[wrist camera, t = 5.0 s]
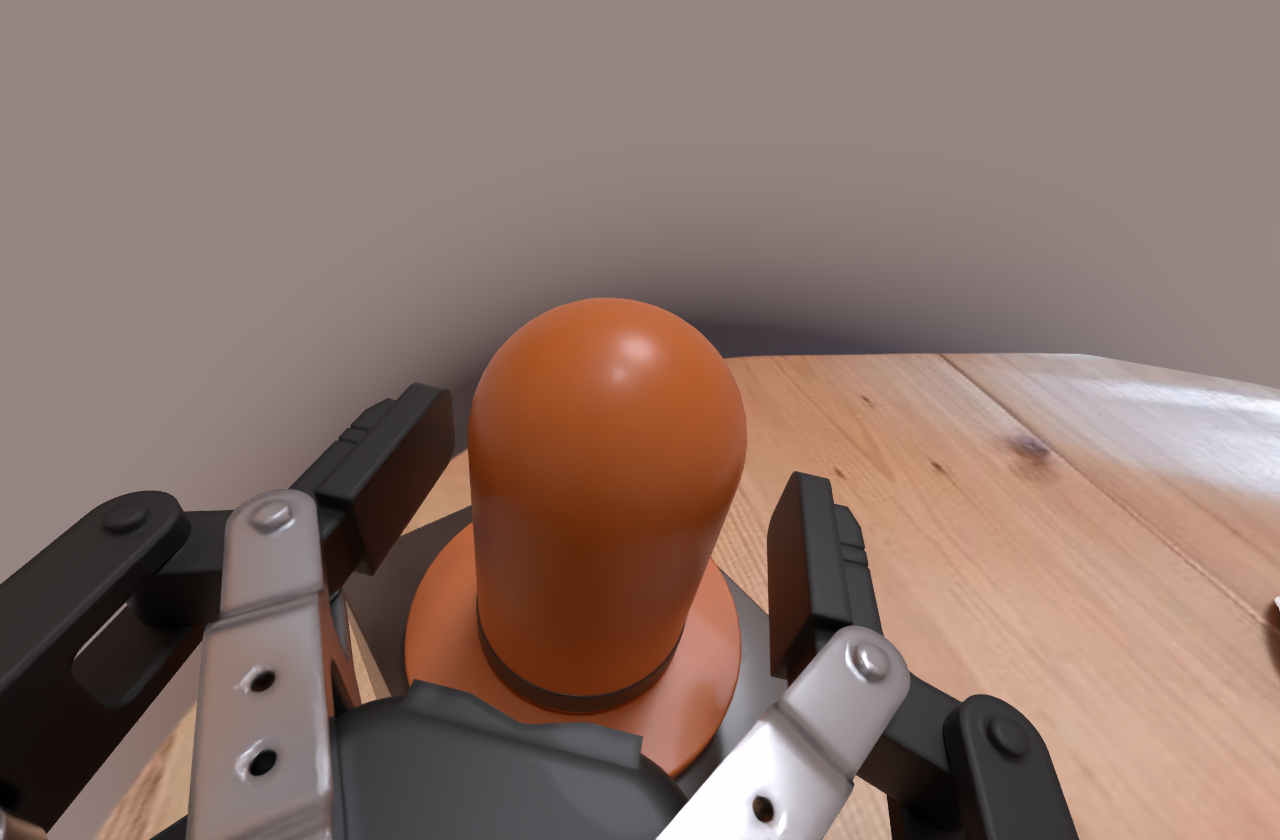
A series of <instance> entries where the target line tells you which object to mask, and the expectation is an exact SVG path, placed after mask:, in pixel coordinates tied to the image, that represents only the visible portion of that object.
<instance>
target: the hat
mask: <svg viewBox="0 0 1280 840" xmlns="http://www.w3.org/2000/svg"><path fill="white" fill-rule="evenodd" d="M746 448H747V427H746V416H745V411H744V407H743V403H742V399H741V394H740V391H739V389H738V387H737V384H736V382H735V380H734V378H733V375H732V373H731V371H730V369H729V368H728V366H727V364H726V363H725V361H724V360H723V358H722V357H721V355H720V354H719V352H718V351H717V350H716V349H715V348H714V346H713V345H712V344H711V343H710V342H709V341H708V340H707V339H706V338H705V337H704V336H703V335H702V334H701V333H700V332H699V331H698V330H697V329H695V328H694V327H693V326H691V325H690V324H688V323H687V322H685V321H684V320H682V319H681V318H679V317H678V316H676V315H674V314H672V313H670V312H668V311H666V310H664V309H662V308H659V307H656V306H654V305H650V304H647V303H643V302H639V301H635V300H629V299H621V298H592V299H585V300H580V301H576V302H572V303H569V304H565V305H561V306H559V307H556V308H553V309H551V310H550V311H547V312H545V313H544V314H542V315H540V316H538V317H536V318H534V319H532V320H531V321H530V322H528V323H527V324H526V325H524V326H523V327H522V328H520V329H519V330H518V331H516V332H515V333H514V334H513V335H512V336H511V337H510V338H509V339H508V340H507V341H506V342H505V343H504V344H503V346H502V347H501V348H500V349H499V350H498V351H497V353H496V354H495V355H494V357H493V358H492V360H491V362H490V363H489V365H488V366H487V368H486V369H485V371H484V373H483V375H482V377H481V380H480V382H479V385H478V387H477V390H476V392H475V395H474V398H473V402H472V407H471V412H470V417H469V422H468V456H469V471H470V487H471V502H472V518H473V522H472V523H471V524H469V525H468V526H467V527H465V528H464V529H463V530H462V531H461V532H459V533H458V534H457V535H456V536H455V537H454V538H453V539H452V540H451V541H450V542H449V543H448V544H447V545H446V546H445V547H444V548H443V549H442V550H441V551H440V553H439V554H438V556H437V557H436V558H435V560H434V561H433V562H432V564H431V565H430V567H429V568H428V570H427V572H426V573H425V575H424V577H423V579H422V581H421V583H420V584H419V586H418V589H417V591H416V594H415V597H414V599H413V602H412V604H411V608H410V612H409V616H408V621H407V625H406V635H405V646H404V650H405V665H406V674H407V678H408V683H409V687H410V686H411V684H412V682H413V680H414V679H418V680H422V681H426V682H430V683H434V684H438V685H442V686H446V687H450V688H454V689H457V690H461V691H465V692H469V693H471V694H473V695H475V696H476V697H478V698H480V699H481V700H483V701H485V702H486V703H488V704H490V705H491V706H493V707H495V708H496V709H498V710H500V711H501V712H503V713H505V714H506V715H508V716H510V717H511V718H513V719H515V720H516V721H518V722H520V723H524V724H543V723H573V722H588V723H592V724H596V725H600V726H604V727H608V728H612V729H616V730H620V731H624V732H628V733H632V734H636V735H640V736H643V741H642V748H641V754H643V755H645V756H646V757H648V758H649V759H651V760H652V761H653V762H655V763H656V764H657V765H658V766H660V767H661V768H662V769H663V770H664V771H665V772H666V773H667V774H668V775H669V776H670V777H671V778H672V779H674V778H676V777H677V776H678V775H679V774H680V773H682V772H683V771H684V770H685V769H686V768H687V767H689V766H690V765H691V764H692V763H693V762H694V760H695V759H696V758H697V757H698V756H699V755H700V753H701V752H702V751H703V750H704V749H705V748H706V746H707V745H708V743H709V742H710V740H711V739H712V737H713V736H714V734H715V732H716V731H717V729H718V728H719V726H720V724H721V723H722V721H723V719H724V717H725V715H726V713H727V711H728V708H729V706H730V704H731V702H732V699H733V696H734V693H735V689H736V685H737V682H738V678H739V671H740V663H741V632H740V625H739V618H738V614H737V611H736V607H735V603H734V600H733V597H732V594H731V592H730V590H729V587H728V585H727V583H726V580H725V579H724V577H723V575H722V573H721V572H720V570H719V568H718V566H717V565H716V563H715V562H714V561H713V559H712V558H711V554H712V552H713V549H714V546H715V544H716V541H717V539H718V536H719V534H720V531H721V529H722V526H723V523H724V521H725V518H726V516H727V513H728V511H729V508H730V505H731V503H732V500H733V498H734V495H735V493H736V490H737V488H738V485H739V482H740V479H741V476H742V472H743V469H744V463H745V458H746Z"/></svg>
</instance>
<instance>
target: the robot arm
mask: <svg viewBox="0 0 1280 840" xmlns="http://www.w3.org/2000/svg"><path fill="white" fill-rule="evenodd" d="M454 446H455V432H454V421H453V410H452V397H451V393H450V391H449V390H447V389H444V388H439V387H435V386H431V385H426V384H422V383H418V382H415V383H413V384H411V385H410V386H409V387H408V388H407V389H406V391H405V392H404V393H403V394H402V395H401V396H400V397H399V398H398V399H397V400H392V399H388V398H387V399H385V400H383V401H382V402H379V403H377V404H376V405H374V406H372V407H370V408H368V409H366V410H365V411H364V412H363V413H362V414H361V415H360V416H359V417H358V418H357V419H356V420H355V421H354V422H353V423H352V424H351V427H350V428H347V429H346V430H345V431H344V432H343V433H342V435H341V436H339V440H338V441H335V442H334V443H333V444H332V445H331V446H330V447H329V448H328V449H327V450H326V451H325V452H324V453H323V454H322V455H321V456H320V457H319V458H318V459H317V460H316V461H315V462H314V463H313V464H312V465H311V466H310V467H309V468H308V469H307V470H306V471H305V472H304V473H303V474H302V475H301V476H300V478H299V479H298V480H297V481H296V482H295V483H294V484H293V485H292V486H291V487H290V488H288V489H279V490H273V491H268V492H265V493H262V494H259V495H256V496H254V497H252V498H250V499H249V500H247V501H245V502H244V503H243V504H241V505H240V506H238V507H237V508H236V509H235V510H223V511H222V510H221V511H191V512H190V511H188V512H184V511H183V510H182V508H181V506H180V504H179V503H178V501H177V499H176V498H175V497H173V496H172V495H170V494H168V493H165V492H161V491H139V492H134V493H129V494H125V495H122V496H119V497H116V498H114V499H111V500H109V501H107V502H105V503H103V504H101V505H99V506H98V507H96V508H94V509H93V510H92V511H90V512H89V513H88V514H86V515H85V516H84V517H83V518H81V519H80V520H79V521H78V522H77V523H75V524H74V525H73V526H72V527H70V528H69V529H68V530H67V531H66V532H64V533H63V534H62V535H61V536H59V537H58V538H57V539H56V540H54V541H53V542H52V543H51V544H50V545H49V546H47V547H46V548H45V549H43V550H42V551H41V552H40V553H38V554H37V555H36V556H35V557H34V558H32V559H31V560H30V561H29V562H28V563H26V564H25V565H24V566H23V567H21V568H20V569H19V570H18V571H16V572H15V573H14V574H13V575H11V576H10V577H9V578H8V579H7V580H5V581H4V582H3V583H2V584H0V840H48V838H47V835H46V834H47V833H48V832H49V830H50V829H51V828H52V827H53V825H54V824H55V823H56V822H57V820H58V819H59V818H60V817H61V815H62V814H63V813H64V812H65V810H66V809H67V808H68V807H69V805H70V804H71V803H72V802H73V800H74V799H75V798H76V797H77V795H78V794H79V793H80V791H82V789H83V788H84V787H85V785H86V784H87V783H88V782H89V781H90V779H91V778H92V777H93V775H94V774H95V773H96V772H97V771H98V769H99V768H100V767H101V766H102V764H103V763H104V762H105V761H106V759H107V758H108V757H109V756H110V754H111V753H112V752H113V751H114V749H115V748H116V747H117V746H118V744H119V743H120V742H121V741H122V739H123V738H124V737H125V735H126V734H127V733H128V732H129V731H130V729H131V728H132V727H133V726H134V724H135V723H136V722H137V721H138V720H139V718H140V717H141V716H142V715H143V713H144V712H145V711H146V710H147V708H148V707H149V706H150V704H151V703H152V702H153V701H154V700H155V698H156V697H157V696H158V695H159V693H160V692H161V691H162V690H163V688H164V687H165V686H166V685H167V683H168V682H169V681H170V680H171V678H172V677H173V676H174V675H175V673H176V672H177V671H178V670H179V668H180V667H181V666H182V665H183V663H184V662H185V661H186V660H187V658H188V657H189V656H190V655H191V653H192V652H193V651H194V650H195V649H196V647H197V646H198V645H199V644H200V642H201V641H202V640H203V641H202V652H201V664H200V676H199V688H198V700H197V711H196V723H195V735H194V747H193V759H192V770H191V782H190V794H189V806H188V814H187V815H186V816H184V817H183V818H181V819H180V820H178V821H177V822H175V823H174V824H172V825H171V826H169V827H168V828H166V829H165V830H163V831H162V832H160V833H159V834H157V835H156V836H154V837H153V838H151V839H149V840H822V839H823V838H824V836H825V834H826V833H827V831H828V830H829V828H830V826H831V825H832V823H833V822H834V820H835V819H836V817H837V815H838V814H839V812H840V811H841V809H842V807H843V806H844V804H845V803H846V801H847V799H848V798H849V796H850V794H851V792H852V790H853V787H854V783H853V782H852V781H853V779H854V777H855V775H857V776H859V777H860V778H862V779H863V780H865V781H866V782H868V783H870V784H871V785H873V786H874V787H876V788H878V789H879V790H881V791H882V792H884V793H885V794H887V801H888V809H889V818H890V826H891V834H892V840H1079V838H1078V835H1077V832H1076V829H1075V826H1074V823H1073V820H1072V818H1071V815H1070V812H1069V809H1068V806H1067V803H1066V800H1065V797H1064V795H1063V792H1062V789H1061V786H1060V783H1059V780H1058V777H1057V774H1056V772H1055V769H1054V766H1053V763H1052V760H1051V757H1050V754H1049V752H1048V749H1047V747H1046V744H1045V743H1044V741H1043V739H1042V737H1041V736H1040V734H1039V733H1038V731H1037V730H1036V728H1035V727H1034V726H1033V725H1032V724H1031V722H1030V721H1029V720H1028V719H1027V718H1026V717H1025V716H1024V715H1023V714H1022V713H1020V712H1019V711H1018V710H1017V709H1015V708H1014V707H1013V706H1011V705H1010V704H1008V703H1006V702H1005V701H1003V700H1001V699H999V698H996V697H993V696H989V695H983V694H978V695H973V696H971V697H968V698H967V699H966V700H965V701H963V702H960V701H958V700H957V699H955V698H953V697H951V696H949V695H948V694H946V693H944V692H942V691H940V690H939V689H937V688H935V687H933V686H931V685H929V684H928V683H926V682H924V681H922V680H921V679H919V678H918V677H916V676H915V675H913V674H912V673H911V672H910V671H909V670H908V667H907V664H906V662H905V660H904V659H903V657H902V655H901V654H900V652H899V651H898V650H897V649H896V647H895V646H894V645H893V644H892V643H891V642H890V641H889V640H887V639H886V638H885V637H884V635H883V631H882V627H881V622H880V617H879V613H878V608H877V603H876V598H875V593H874V589H873V584H872V579H871V574H870V569H869V568H868V560H867V555H866V552H865V551H864V548H865V545H864V541H863V536H862V531H861V527H860V525H859V524H858V522H857V521H856V519H855V518H854V516H853V514H852V513H851V511H850V510H849V508H848V507H846V506H842V505H837V504H834V501H833V495H832V489H831V483H830V481H829V479H827V478H823V477H819V476H814V475H810V474H806V473H801V472H797V471H795V472H793V473H792V475H791V477H790V479H789V481H788V483H787V485H786V487H785V489H784V491H783V493H782V495H781V498H780V500H779V502H778V504H777V506H776V508H775V510H774V512H773V515H772V517H771V520H770V524H769V528H768V534H767V562H768V601H769V640H770V676H772V677H776V678H780V679H784V680H787V683H788V689H787V690H786V691H785V693H784V694H783V695H782V696H781V697H780V698H779V700H778V701H777V702H776V703H774V704H772V706H771V707H770V708H769V709H768V710H767V711H766V712H765V713H764V714H763V715H762V717H761V718H760V719H759V720H758V721H757V722H756V724H755V725H754V726H753V727H752V728H751V729H750V731H749V732H748V733H747V734H746V735H745V736H744V738H743V739H742V740H741V741H740V742H739V743H738V744H737V746H736V747H735V748H734V749H733V750H732V751H731V753H730V754H729V755H728V756H727V757H726V758H725V760H724V761H723V762H722V763H721V764H720V765H719V767H718V768H717V769H716V770H715V771H714V772H713V773H712V775H711V776H710V777H709V778H708V779H707V780H706V782H705V783H704V784H703V785H702V786H701V787H700V789H699V790H698V791H697V792H696V793H695V794H694V796H693V797H692V798H691V799H690V800H688V799H687V797H686V795H685V794H684V793H683V791H682V790H681V789H680V787H679V786H678V785H677V784H676V782H675V781H674V780H673V779H672V778H671V777H670V776H669V775H668V774H667V773H666V772H665V771H664V770H663V769H662V768H661V767H660V766H658V765H657V764H656V763H655V762H653V761H652V760H651V759H649V758H648V757H646V756H645V755H643V754H641V748H642V741H643V736H640V735H636V734H632V733H628V732H624V731H620V730H616V729H612V728H608V727H604V726H600V725H596V724H592V723H588V722H573V723H543V724H524V723H520V722H518V721H516V720H515V719H513V718H511V717H510V716H508V715H506V714H505V713H503V712H501V711H500V710H498V709H496V708H495V707H493V706H491V705H490V704H488V703H486V702H485V701H483V700H481V699H480V698H478V697H476V696H475V695H473V694H471V693H469V692H465V691H461V690H457V689H454V688H450V687H446V686H442V685H438V684H434V683H430V682H426V681H422V680H418V679H414V680H413V682H412V684H411V686H410V688H409V690H408V692H407V694H406V695H398V696H392V697H386V698H381V699H378V700H374V701H371V702H367V703H365V704H361V699H360V694H359V689H358V685H357V681H356V676H355V671H354V664H353V656H352V648H351V639H350V631H349V623H348V614H347V606H346V597H345V590H344V587H343V585H344V584H345V582H346V581H347V580H348V578H349V577H350V575H351V574H352V573H353V572H357V573H361V574H365V575H369V576H373V575H374V574H375V572H376V571H377V569H378V568H379V566H380V565H381V563H382V562H383V560H384V559H385V557H386V556H387V554H388V553H389V551H390V550H391V548H392V547H393V546H394V544H395V543H396V541H397V540H398V538H399V537H400V535H401V534H402V532H403V531H404V529H405V528H406V526H407V525H408V523H409V522H410V520H411V519H412V517H413V516H414V514H415V513H416V511H417V510H418V508H419V507H420V506H421V504H422V503H423V501H424V500H425V498H426V497H427V495H428V494H429V492H430V491H431V489H432V488H433V486H434V485H435V483H436V482H437V480H438V479H439V477H440V476H441V474H442V473H443V471H444V470H445V468H446V467H447V465H448V464H449V462H450V460H451V457H452V455H453V451H454ZM125 602H126V604H127V606H126V607H125V608H124V609H123V610H122V611H121V613H119V614H118V616H116V618H115V619H114V620H113V621H112V622H111V623H110V624H109V625H108V626H107V627H106V628H105V629H104V630H103V631H102V632H101V633H100V634H99V635H98V636H97V637H96V638H95V639H94V640H93V641H92V642H91V643H90V644H89V645H88V646H87V647H86V648H85V649H84V650H83V651H82V652H81V653H80V654H79V655H78V657H76V659H75V660H74V658H75V656H76V655H77V653H78V651H79V649H81V647H82V646H83V645H84V644H85V643H86V642H87V641H88V640H89V639H90V638H91V637H92V636H93V635H94V634H95V633H96V632H97V631H98V630H99V629H100V628H101V627H102V626H103V625H104V624H105V623H106V621H108V619H110V618H111V616H113V614H114V613H115V612H116V611H117V610H118V609H119V608H120V607H121V606H122V605H123V604H124V603H125Z"/></svg>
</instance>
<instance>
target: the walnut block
mask: <svg viewBox="0 0 1280 840" xmlns="http://www.w3.org/2000/svg"><path fill="white" fill-rule="evenodd" d="M472 522H473V518H472V505H471V506H468V507H466V508H464V509H461V510H459V511H457V512H455V513H452V514H450V515H448V516H446V517H443V518H441V519H439V520H436V521H434V522H432V523H430V524H427V525H425V526H423V527H421V528H418V529H416V530H414V531H411V532H409V533H407V534H405V535H402V536H400V537H399V538H398V540H397V541H396V543H395V544H394V546H393V547H392V548H391V550H390V551H389V553H388V554H387V556H386V557H385V559H384V560H383V562H382V563H381V565H380V566H379V568H378V569H377V571H376V572H375V574H374V575H373V576H369V575H365V574H361V573H357V572H353V573H352V574H351V575H350V577H349V578H348V580H347V581H346V582H345V584H344V585H343V587H344V590H345V597H346V606H347V614H348V619H349V622H350V625H351V627H352V630H353V633H354V636H355V639H356V642H357V644H358V647H359V650H360V653H361V656H362V659H363V662H364V664H365V667H366V670H367V673H368V676H369V679H370V681H371V684H372V687H373V690H374V693H375V696H376V699H377V700H378V699H381V698H386V697H392V696H398V695H406V694H407V692H408V690H409V688H410V687H409V683H408V678H407V674H406V665H405V650H404V646H405V635H406V625H407V621H408V616H409V612H410V608H411V604H412V602H413V599H414V597H415V594H416V591H417V589H418V586H419V584H420V583H421V581H422V579H423V577H424V575H425V573H426V572H427V570H428V568H429V567H430V565H431V564H432V562H433V561H434V560H435V558H436V557H437V556H438V554H439V553H440V551H441V550H442V549H443V548H444V547H445V546H446V545H447V544H448V543H449V542H450V541H451V540H452V539H453V538H454V537H455V536H456V535H457V534H458V533H459V532H461V531H462V530H463V529H464V528H465V527H467V526H468V525H469V524H471V523H472ZM718 568H719V567H718ZM719 570H720V572H721V573H722V575H723V577H724V579H725V580H726V583H727V585H728V587H729V590H730V592H731V594H732V597H733V600H734V603H735V607H736V611H737V614H738V618H739V625H740V632H741V663H740V671H739V678H738V682H737V685H736V689H735V693H734V696H733V699H732V702H731V704H730V706H729V708H728V711H727V713H726V715H725V717H724V719H723V721H722V723H721V724H720V726H719V728H718V729H717V731H716V732H715V734H714V736H713V737H712V739H711V740H710V742H709V743H708V745H707V746H706V748H705V749H704V750H703V751H702V752H701V753H700V755H699V756H698V757H697V758H696V759H695V760H694V762H693V763H692V764H691V765H690V766H689V767H687V768H686V769H685V770H684V771H683V772H682V773H680V774H679V775H678V776H677V777H676V778H674V779H673V780H674V781H675V782H676V784H677V785H678V786H679V787H680V789H681V790H682V791H683V793H684V794H685V795H686V797H687V799H688V800H690V799H691V798H692V797H693V796H694V794H695V793H696V792H697V791H698V790H699V789H700V787H701V786H702V785H703V784H704V783H705V782H706V780H707V779H708V778H709V777H710V776H711V775H712V773H713V772H714V771H715V770H716V769H717V768H718V767H719V765H720V764H721V763H722V762H723V761H724V760H725V758H726V757H727V756H728V755H729V754H730V753H731V751H732V750H733V749H734V748H735V747H736V746H737V744H738V743H739V742H740V741H741V740H742V739H743V738H744V736H745V735H746V734H747V733H748V732H749V731H750V729H751V728H752V727H753V726H754V725H755V724H756V722H757V721H758V720H759V719H760V718H761V717H762V715H763V714H764V713H765V712H766V711H767V710H768V709H769V708H770V707H771V706H772V704H774V703H776V702H777V701H778V700H779V698H780V697H781V696H782V695H783V694H784V693H785V691H786V690H787V689H788V683H787V680H784V679H780V678H776V677H772V676H770V640H769V616H768V615H767V614H766V613H765V612H764V611H763V610H762V609H761V608H760V607H759V606H758V605H757V604H756V603H755V602H754V601H753V600H752V599H751V598H750V597H749V596H748V595H747V594H746V593H745V592H744V591H743V590H742V589H741V588H740V587H739V586H738V585H737V584H736V583H735V582H734V581H733V580H732V579H731V578H730V577H729V576H728V575H726V574H725V573H724V572H723V571H722V570H721V569H720V568H719Z"/></svg>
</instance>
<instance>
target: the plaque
mask: <svg viewBox="0 0 1280 840" xmlns="http://www.w3.org/2000/svg"><path fill="white" fill-rule="evenodd" d="M1274 601H1275V602H1276V604H1277V606H1278V607H1279V609H1280V596H1278V597H1277V598H1275V599H1274Z"/></svg>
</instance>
